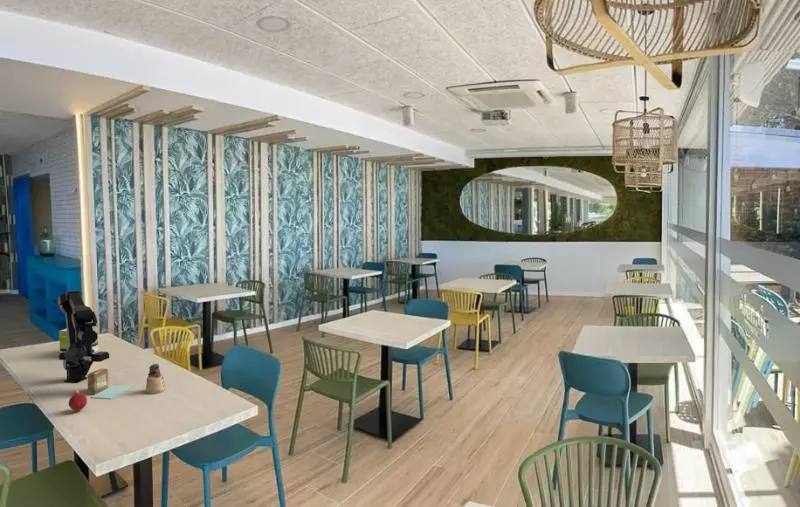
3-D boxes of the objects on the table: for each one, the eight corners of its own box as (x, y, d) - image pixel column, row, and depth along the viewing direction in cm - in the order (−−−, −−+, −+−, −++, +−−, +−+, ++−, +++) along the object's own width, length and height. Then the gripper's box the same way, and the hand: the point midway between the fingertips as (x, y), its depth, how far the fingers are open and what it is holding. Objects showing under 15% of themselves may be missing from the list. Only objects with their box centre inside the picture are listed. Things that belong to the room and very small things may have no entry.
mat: (90, 397, 199) (90, 396, 199) (113, 385, 212) (113, 385, 212) (111, 399, 198) (111, 398, 198) (133, 387, 212) (133, 386, 212)
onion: (90, 409, 187) (90, 389, 186) (76, 415, 182) (75, 394, 181) (79, 407, 189) (79, 387, 188) (65, 413, 183) (64, 392, 183)
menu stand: (88, 394, 202) (87, 373, 201) (101, 388, 210) (101, 367, 209) (95, 395, 202) (94, 374, 201) (108, 388, 210) (107, 368, 209)
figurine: (161, 387, 213) (161, 360, 212) (167, 391, 208) (166, 363, 207) (143, 390, 208) (143, 363, 207) (149, 395, 203) (148, 367, 202)
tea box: (82, 350, 265) (81, 323, 264) (99, 351, 263) (98, 324, 262) (59, 358, 250) (58, 329, 249) (76, 359, 249) (76, 331, 247)
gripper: (47, 343, 197) (48, 380, 199) (90, 345, 196) (91, 383, 197) (68, 336, 208) (69, 372, 210) (109, 338, 207) (110, 374, 208)
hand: (84, 375), depth 206 cm, fingers closed
